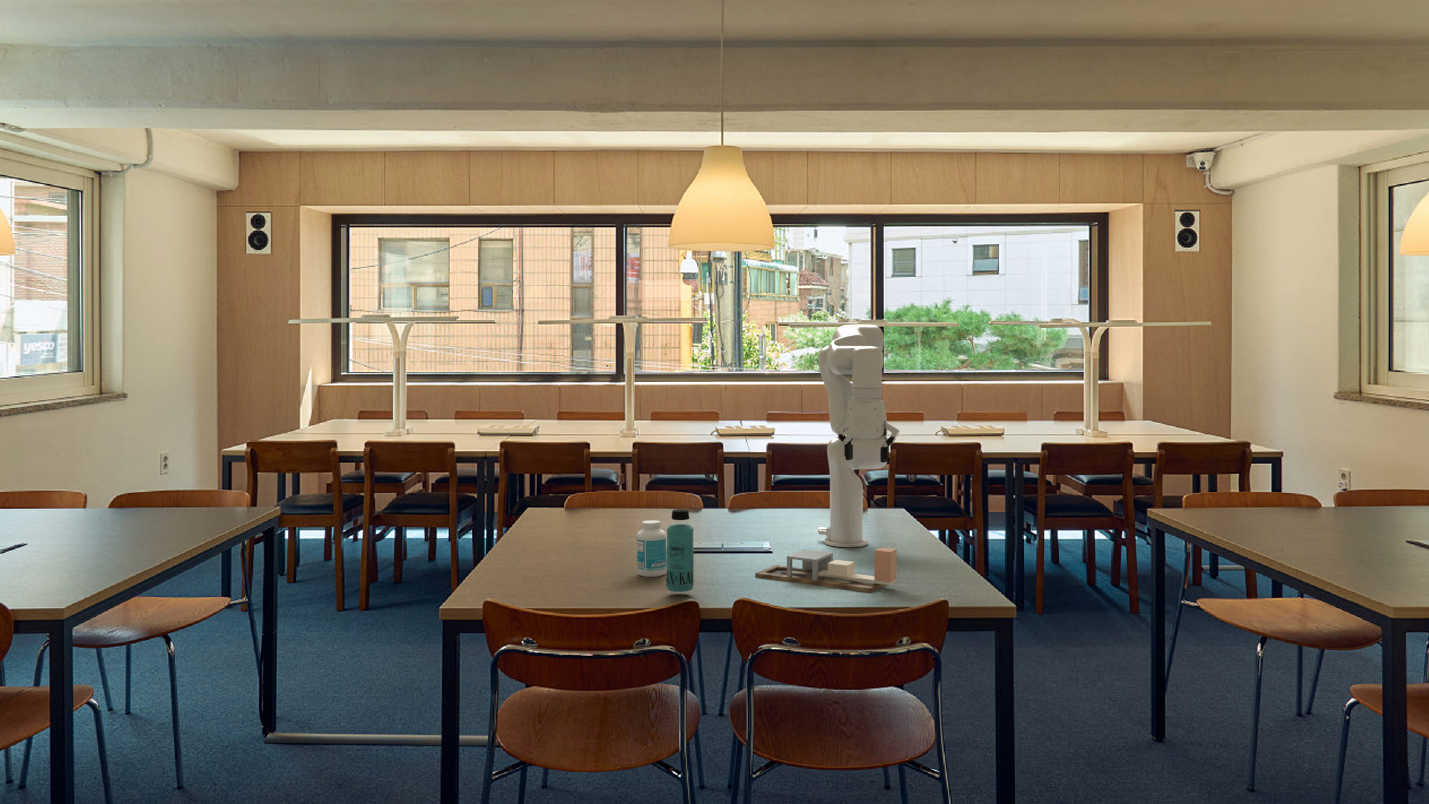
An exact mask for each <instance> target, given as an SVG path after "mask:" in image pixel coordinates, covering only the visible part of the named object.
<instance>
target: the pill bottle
mask: <svg viewBox="0 0 1429 804" xmlns="http://www.w3.org/2000/svg"><path fill="white" fill-rule="evenodd" d="M641 522H642V523H641V528H642V529H641V530H639V531H638V532H637V534H636V565H637V570H636V571H637V574H638V575H639V576H641V577H647V578H653V577H654V578H656V577H662V576H663V575H666V574H667V571H666V570H667V567H666V566H667V564H666V562H667V561H666V559H667V557H666V556H667V553H666V552H667V532H665V530H663V529H661V526H662V525H661V521H660V520H653V519H651V520H643V521H641Z"/></svg>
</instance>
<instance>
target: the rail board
mask: <svg viewBox="0 0 1429 804" xmlns="http://www.w3.org/2000/svg"><path fill="white" fill-rule="evenodd" d="M818 572H820V571H818ZM754 575H755V578H761V579H767V580H774V581H775V580H776V581H782V582H788V583H790V582H791V583H798V584H803V585H805V584H806V585H811V586H819V587H827V588H834V589H840V590H849V591H855V592H862V593H870V594H871V593H874V592H875V591H876V590H879V589H880V588H882V587H884V586H885V585H883V584H876V583H871V582H863V581H856V580H848V579H840V578H833V577H825V576H818V580H812V570H810V569H803V568H802V567H795V566H794V567H793V566H792V577H787V565H780V564H774V565H773V566H770V567H767V568H764V569H762V570H759V571H758V572H757V571H756V572H755V574H754Z"/></svg>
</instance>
